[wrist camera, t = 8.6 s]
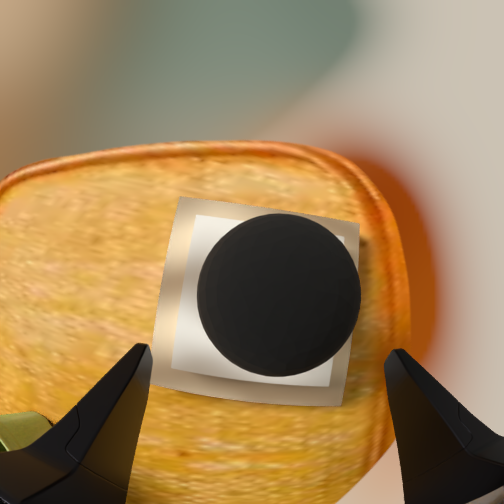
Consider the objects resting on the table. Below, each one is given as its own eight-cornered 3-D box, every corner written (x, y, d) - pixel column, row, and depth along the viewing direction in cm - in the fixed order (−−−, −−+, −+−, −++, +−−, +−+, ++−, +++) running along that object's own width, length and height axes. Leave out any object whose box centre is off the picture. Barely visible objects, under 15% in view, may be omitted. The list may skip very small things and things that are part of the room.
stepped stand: (332, 399, 19) (351, 413, 15) (155, 377, 19) (138, 389, 15) (350, 231, 23) (370, 214, 19) (184, 206, 22) (174, 184, 18)
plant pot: (91, 485, 16) (51, 525, 7) (28, 463, 15) (-16, 487, 6) (66, 403, 18) (6, 427, 9) (6, 389, 17) (-49, 399, 9)
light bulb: (291, 246, 18) (346, 165, 8) (321, 332, 17) (414, 343, 7) (202, 274, 17) (158, 218, 7) (232, 364, 16) (223, 424, 6)
